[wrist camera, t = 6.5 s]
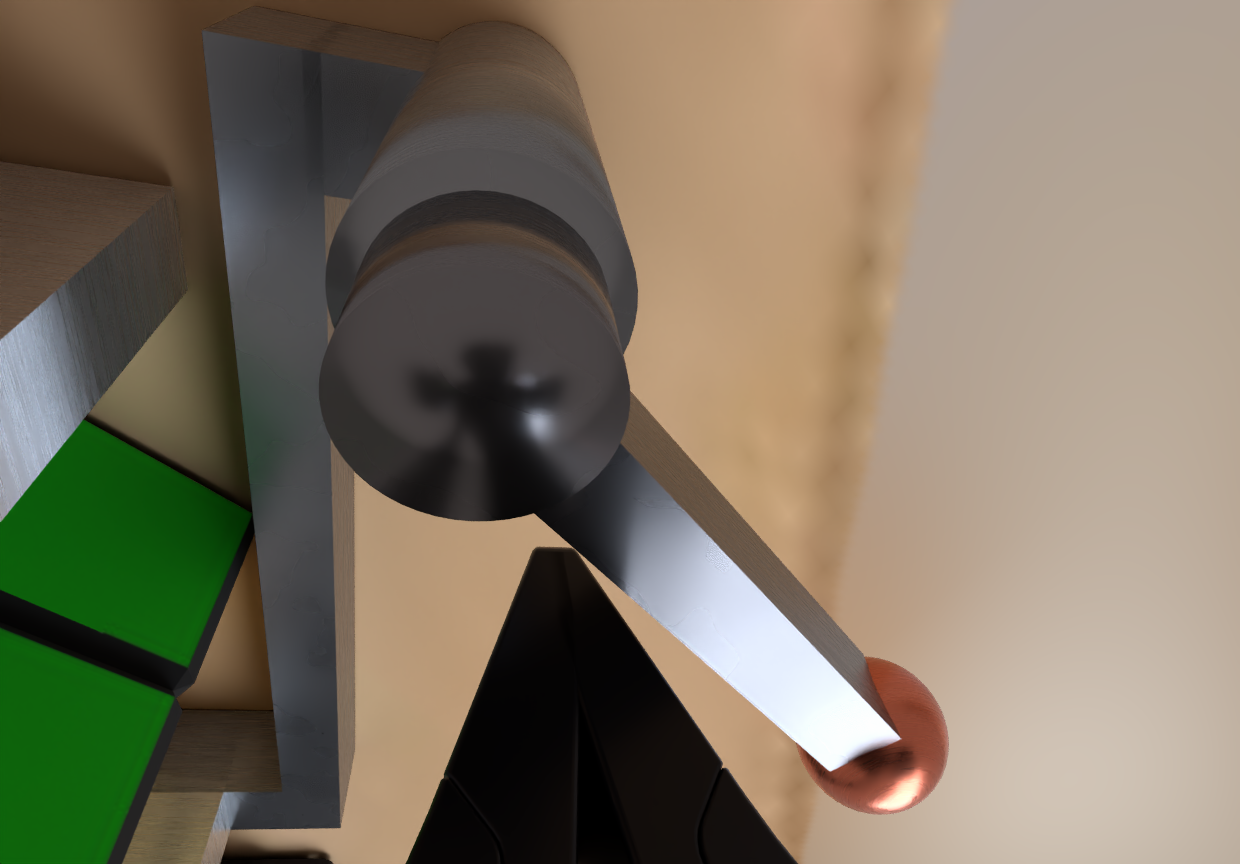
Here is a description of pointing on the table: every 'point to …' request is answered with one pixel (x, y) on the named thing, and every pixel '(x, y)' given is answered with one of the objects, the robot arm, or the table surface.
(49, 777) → the puzzle cube
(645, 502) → the lever
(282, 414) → the base
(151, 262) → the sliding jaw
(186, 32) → the table surface
